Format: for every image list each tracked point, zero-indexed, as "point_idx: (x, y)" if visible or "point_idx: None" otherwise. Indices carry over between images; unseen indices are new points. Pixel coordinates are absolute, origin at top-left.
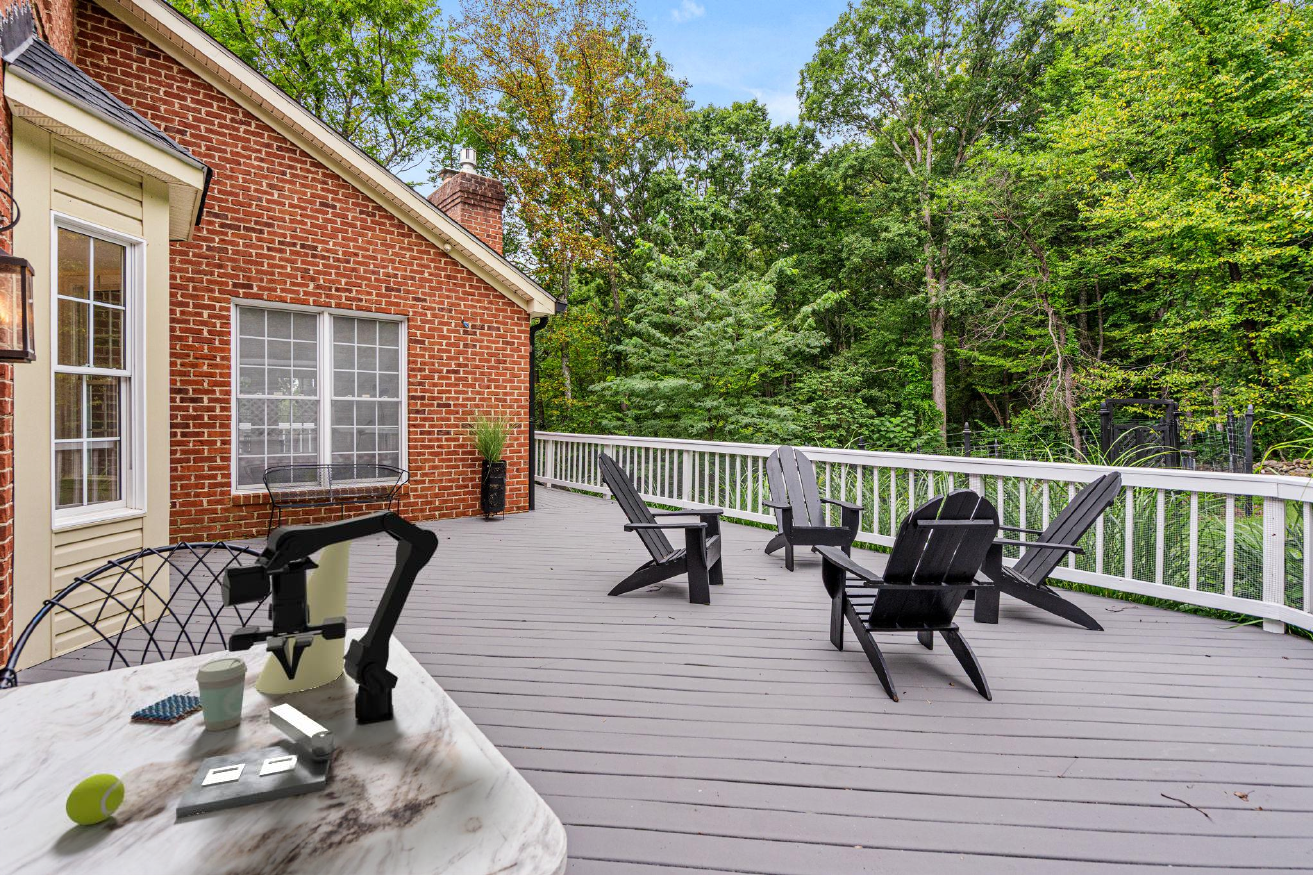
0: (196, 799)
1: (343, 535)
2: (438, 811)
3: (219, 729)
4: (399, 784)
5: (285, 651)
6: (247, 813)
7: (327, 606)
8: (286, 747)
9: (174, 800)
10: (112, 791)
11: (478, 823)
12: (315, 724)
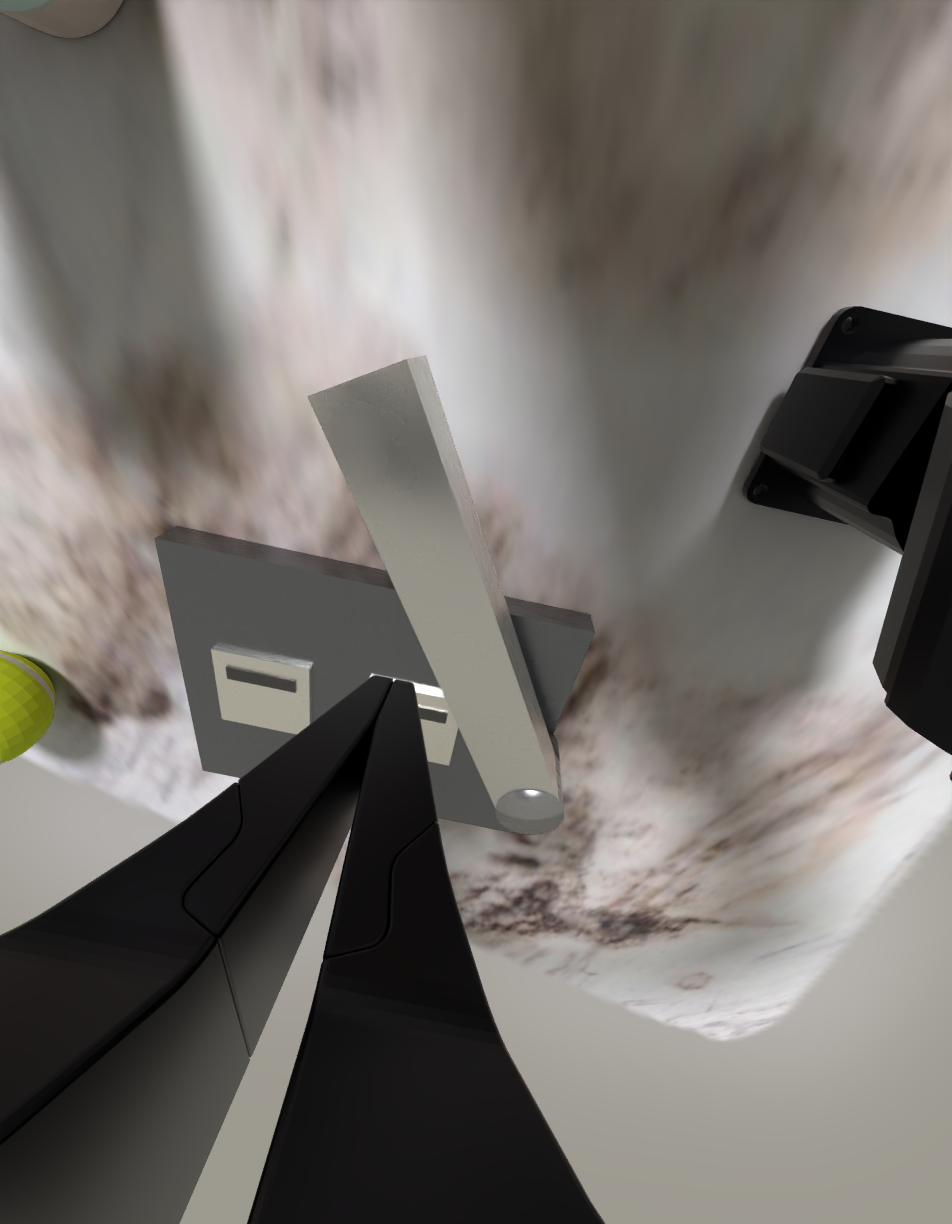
0: (235, 760)
1: None
2: (670, 946)
3: (50, 31)
4: (657, 868)
5: (199, 1159)
6: None
7: None
8: None
9: (175, 678)
10: (4, 758)
11: (701, 983)
12: (524, 729)
